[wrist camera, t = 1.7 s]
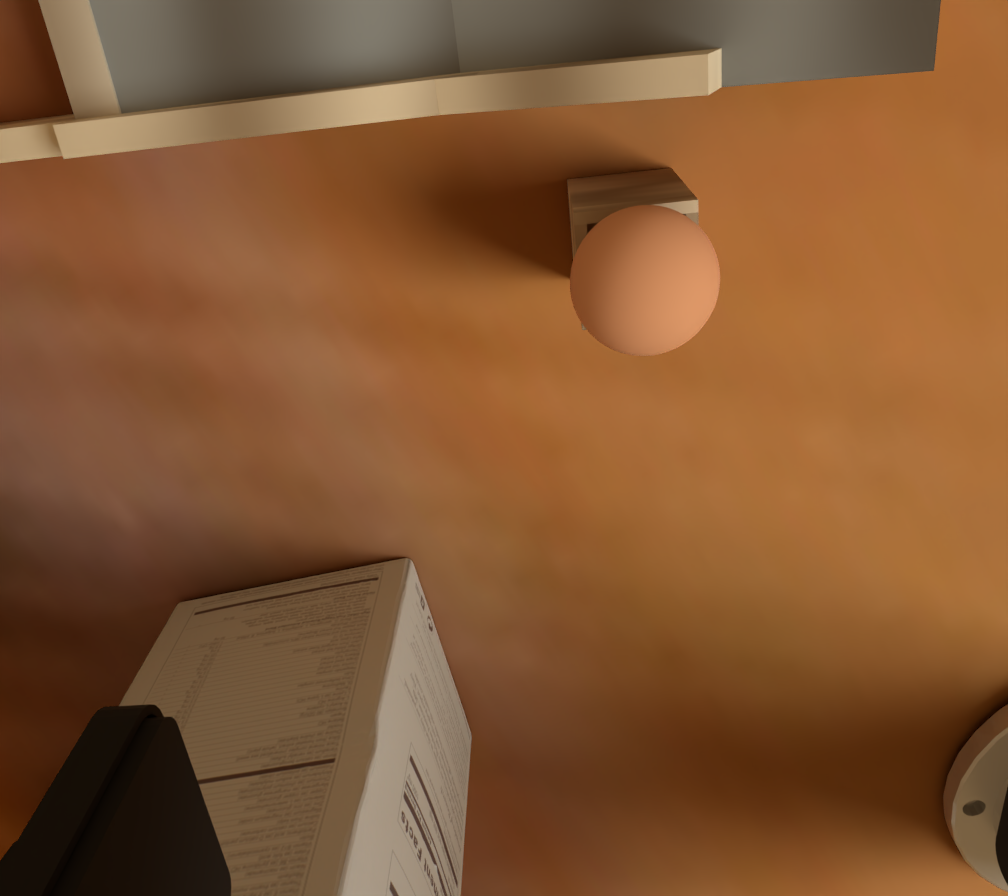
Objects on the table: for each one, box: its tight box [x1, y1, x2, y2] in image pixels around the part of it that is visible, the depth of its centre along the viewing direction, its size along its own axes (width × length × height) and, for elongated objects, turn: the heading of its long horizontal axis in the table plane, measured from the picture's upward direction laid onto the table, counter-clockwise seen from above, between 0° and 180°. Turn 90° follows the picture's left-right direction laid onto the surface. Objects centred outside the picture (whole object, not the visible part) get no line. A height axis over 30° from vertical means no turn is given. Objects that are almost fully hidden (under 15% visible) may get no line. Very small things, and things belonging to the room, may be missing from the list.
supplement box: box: [119, 558, 472, 896], centre depth 27 cm, size 10×9×17 cm
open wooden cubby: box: [567, 168, 698, 330], centre depth 24 cm, size 3×3×5 cm
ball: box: [570, 205, 720, 356], centre depth 21 cm, size 4×4×4 cm
